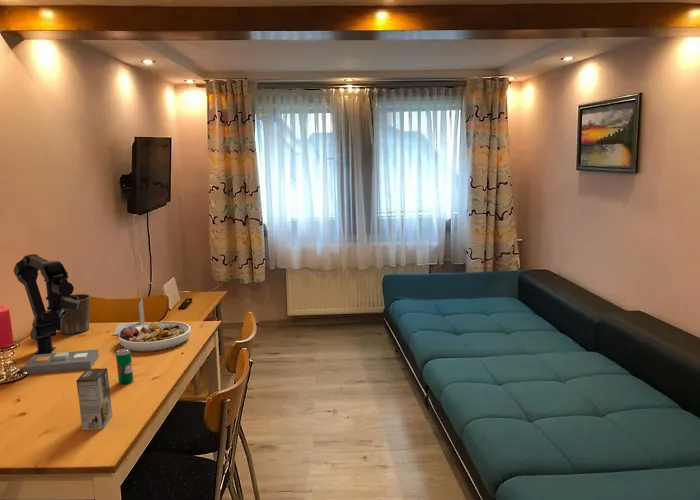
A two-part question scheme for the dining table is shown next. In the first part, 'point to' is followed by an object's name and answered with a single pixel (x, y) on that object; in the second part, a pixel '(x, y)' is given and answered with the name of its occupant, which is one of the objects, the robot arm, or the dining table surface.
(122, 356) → the soda can
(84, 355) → the off white button
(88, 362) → the panel
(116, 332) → the laptop
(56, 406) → the dining table surface
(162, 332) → the bowl
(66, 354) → the sage button
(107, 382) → the coffee box
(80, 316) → the plant pot
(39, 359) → the orange button
